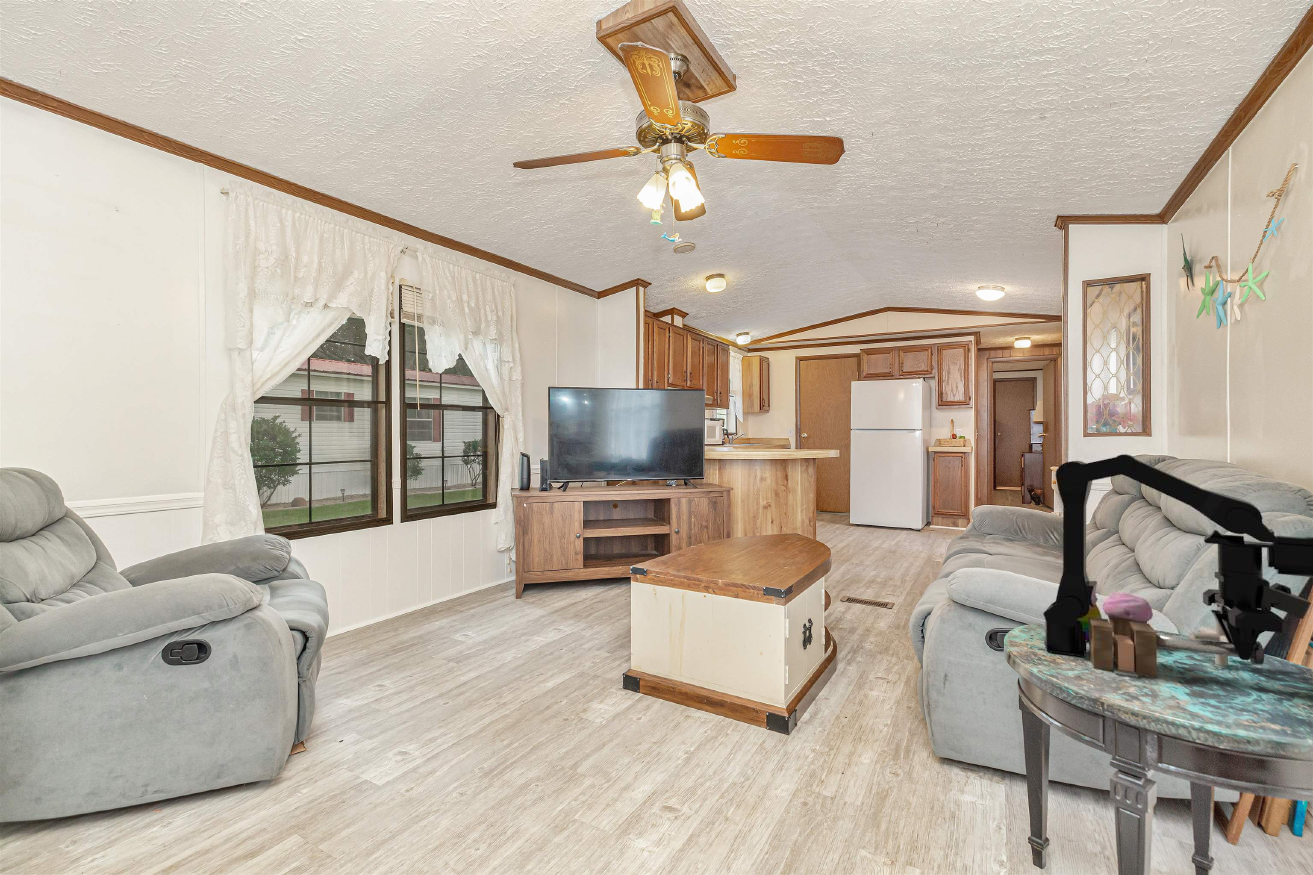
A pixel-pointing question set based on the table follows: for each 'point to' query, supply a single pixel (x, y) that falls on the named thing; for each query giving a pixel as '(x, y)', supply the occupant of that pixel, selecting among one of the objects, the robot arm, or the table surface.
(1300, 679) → the table surface
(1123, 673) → the mat
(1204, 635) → the pipe connector
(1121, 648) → the spacer
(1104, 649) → the pillow blocks
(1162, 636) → the shaft
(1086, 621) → the decorative egg
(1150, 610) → the cupcake
